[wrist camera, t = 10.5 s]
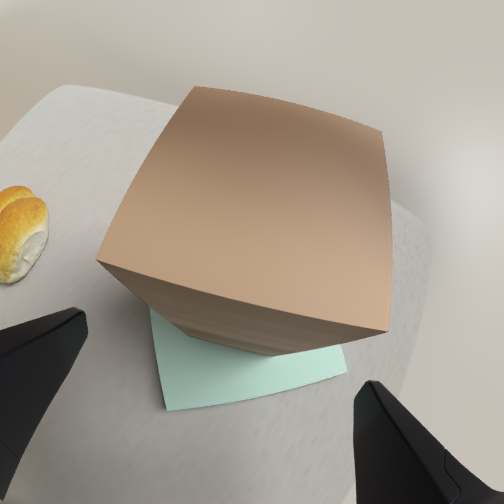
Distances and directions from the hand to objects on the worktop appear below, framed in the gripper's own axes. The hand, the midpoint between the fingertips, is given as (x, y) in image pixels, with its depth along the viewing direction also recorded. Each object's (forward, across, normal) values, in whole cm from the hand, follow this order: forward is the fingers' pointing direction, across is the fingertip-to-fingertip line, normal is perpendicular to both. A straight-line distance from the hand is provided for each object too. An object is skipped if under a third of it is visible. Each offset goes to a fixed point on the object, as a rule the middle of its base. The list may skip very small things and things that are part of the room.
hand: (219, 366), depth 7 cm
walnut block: (+8, 0, +3) cm, 9 cm away
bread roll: (+9, +20, +4) cm, 23 cm away
